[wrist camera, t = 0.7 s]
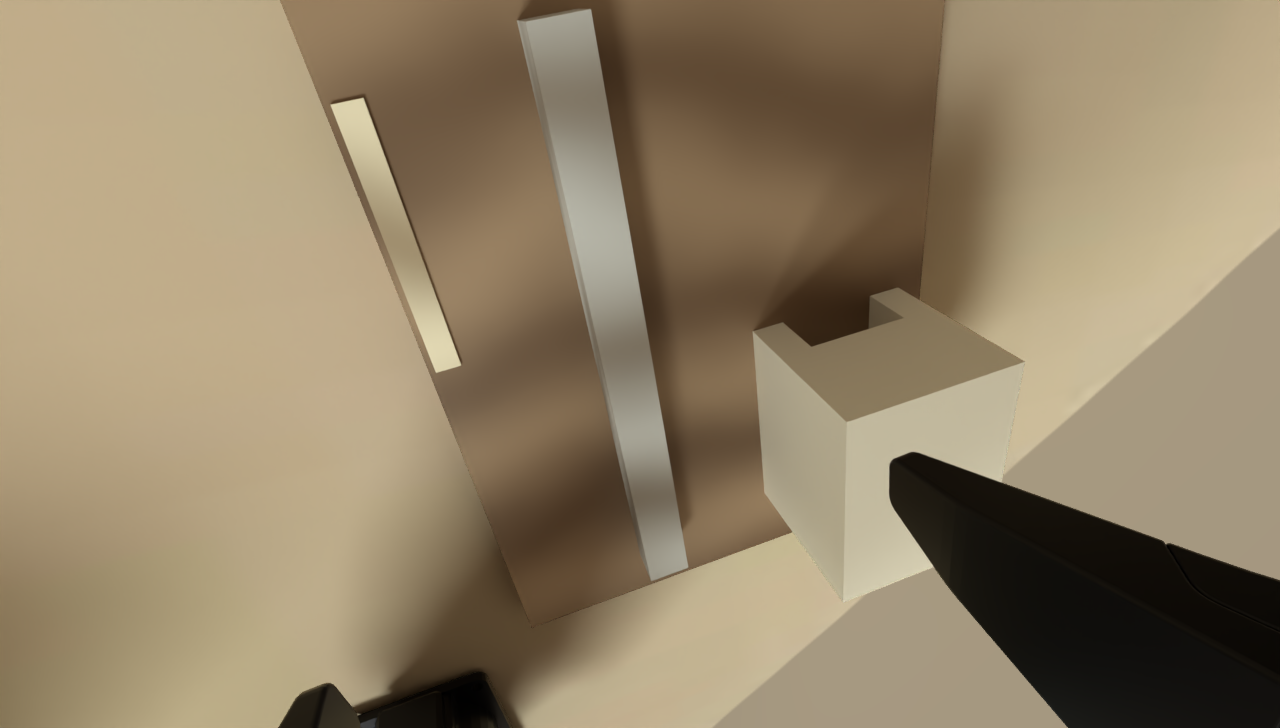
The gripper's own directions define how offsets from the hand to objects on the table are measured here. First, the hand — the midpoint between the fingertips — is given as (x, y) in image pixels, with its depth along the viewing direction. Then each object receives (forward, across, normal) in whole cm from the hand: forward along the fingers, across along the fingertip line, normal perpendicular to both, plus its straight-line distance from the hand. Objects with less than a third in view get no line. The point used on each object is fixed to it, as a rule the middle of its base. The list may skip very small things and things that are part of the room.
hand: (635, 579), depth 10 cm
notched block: (+12, -10, +8) cm, 18 cm away
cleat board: (+13, -5, +3) cm, 14 cm away
